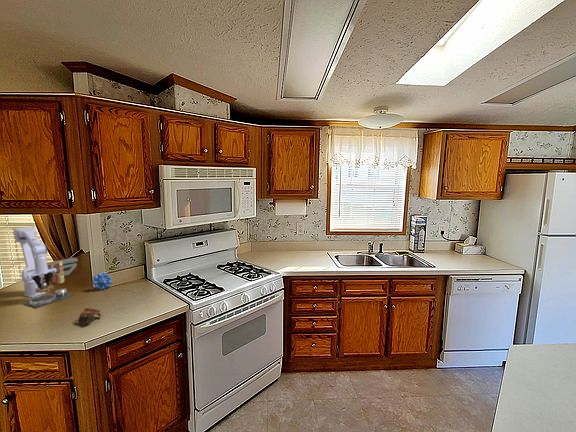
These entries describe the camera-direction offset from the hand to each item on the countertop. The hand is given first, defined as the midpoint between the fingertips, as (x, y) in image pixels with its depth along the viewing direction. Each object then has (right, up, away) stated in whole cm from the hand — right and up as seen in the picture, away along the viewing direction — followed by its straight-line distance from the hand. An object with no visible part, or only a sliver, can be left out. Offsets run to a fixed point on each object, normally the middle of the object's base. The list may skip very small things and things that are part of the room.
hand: (43, 286), depth 175 cm
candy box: (-18, -6, +32) cm, 38 cm away
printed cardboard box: (-30, -4, +48) cm, 57 cm away
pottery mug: (+45, -13, -25) cm, 53 cm away
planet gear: (0, -2, 0) cm, 2 cm away
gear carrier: (+1, -9, +3) cm, 10 cm away
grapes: (+25, -7, +19) cm, 32 cm away
